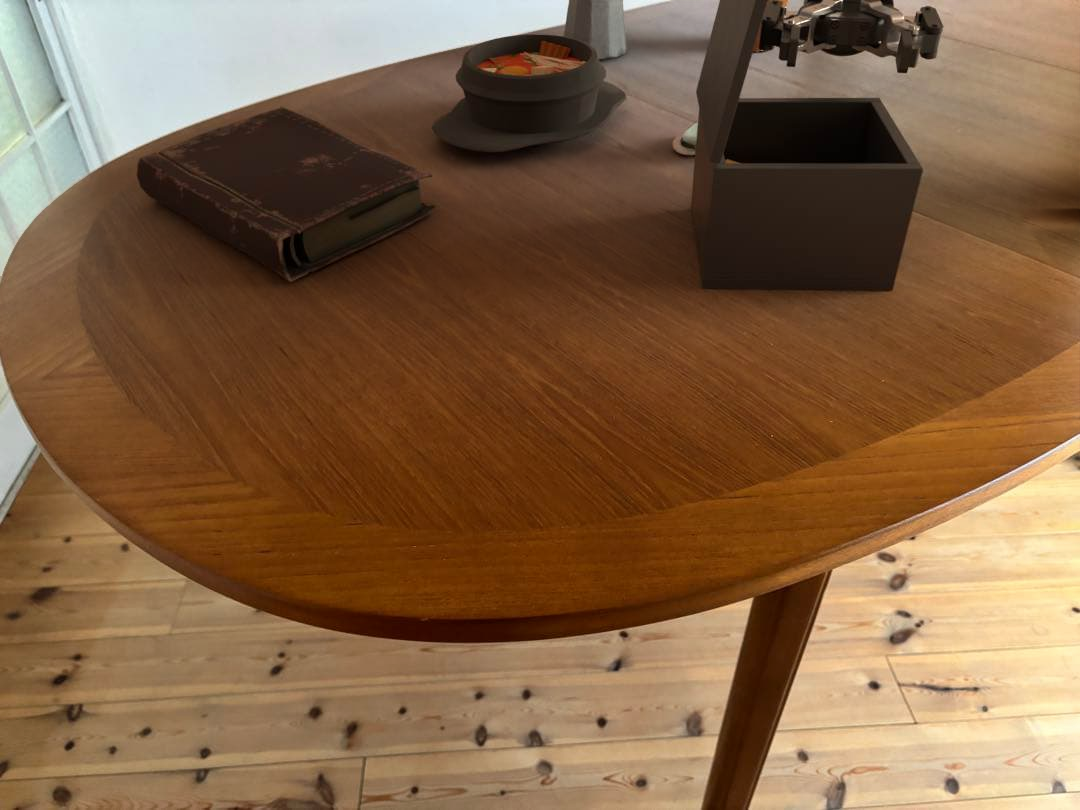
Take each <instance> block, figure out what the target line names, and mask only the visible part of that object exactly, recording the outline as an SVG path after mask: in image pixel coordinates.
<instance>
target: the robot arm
mask: <svg viewBox="0 0 1080 810" xmlns="http://www.w3.org/2000/svg"><path fill="white" fill-rule="evenodd" d="M782 4H783V2H781V1H779V0H773V1H769V2H768V5H767V7H766V9H765V12H764V16H763V19H762V22H761V31H760V39H759V49H760V50H763V51H765V52H769V51H772V50H774V49H773V47H774V46H776V48H778V49H779V51H778V59H779V60H780V61H784V62H786V66H785V67H788V68H796V65H797V64H796V63H797V58H798V57H797V56H798V53H799V52H801V53H805V54H808V55H809V54H813V53H815V52H817V51H822V52H823V53H825V54H827V55H831V56H834V57H851V56H855V55H859V54H862V53H864V52H868V53H870V54H872V55H874V56H876V57H879V58H886V57H894V58H895V64H896V65H895V66H896V73H897V74H907V73H908V71H909V68H912V69H915V68H916V67H917V65H918V61H919V57H920V58H923V59H925V60H934V59H937V55H938V49H939V44H940V40H941V36H942V33H943V30H944V27H945V26H944V25H943V22H942V20H941V17H940V15H939V13H938V10H937V9H936V7H933V6H930V5H926V6H921V7H920V8H919V10H918V11H915V15H904V14H903V12H902V11H900V10H899V9H898V8H896V7H895V2H894V0H803V5H802V6H800V7H799V9H798V10H787V8H788V6H782ZM768 50H769V51H768Z"/></svg>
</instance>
